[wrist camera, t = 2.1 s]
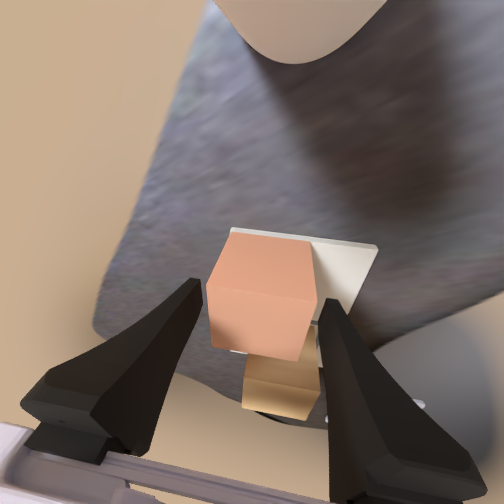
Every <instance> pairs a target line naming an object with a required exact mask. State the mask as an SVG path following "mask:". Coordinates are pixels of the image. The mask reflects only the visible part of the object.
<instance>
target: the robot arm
mask: <svg viewBox="0 0 504 504" xmlns="http://www.w3.org/2000/svg"><path fill="white" fill-rule="evenodd" d="M202 305H203V299H202V290H201V282H200V279H195V278H189V279H188V280H187V281H186V282H185V283H184V284H183V285H181V286H180V287H179V288H178V289H177V290H176V291H175V292H174V293H173V294H172V295H170V296H169V297H168V298H167V299H166V300H165V301H163V302H162V303H161V304H160V305H159V306H157V307H156V308H155V309H154V310H152V311H151V312H150V313H149V314H147V315H146V316H145V317H143V318H142V319H140V320H139V321H138V322H136V323H135V324H133V325H132V326H130V327H129V328H127V329H126V330H124V331H123V332H121V333H119V334H118V335H116V336H114V337H113V338H111V339H109V340H108V341H106V342H104V343H103V344H100V345H99V346H97V347H95V348H93V349H91V350H89V351H87V352H85V353H83V354H81V355H79V356H77V357H75V358H73V359H71V360H69V361H66V362H64V363H62V364H60V365H58V366H56V367H53V368H51V369H49V371H47V372H46V373H45V375H44V376H43V377H42V378H41V379H40V380H39V381H38V382H37V383H36V384H35V386H34V387H33V388H32V389H31V390H30V391H29V392H28V393H27V394H26V396H25V397H24V398H23V399H22V400H21V402H20V406H21V407H22V409H24V410H25V411H26V412H28V413H29V414H31V415H32V416H33V417H35V418H36V419H38V420H40V421H41V423H40V424H39V426H38V427H37V428H36V430H34V429H32V428H29V427H25V426H21V425H16V424H12V423H8V422H2V423H0V504H165V503H162V502H160V501H158V500H157V499H155V496H152V495H149V494H146V493H142V492H139V491H136V490H133V489H130V485H129V483H131V484H135V485H139V486H144V487H148V488H152V489H156V490H160V491H165V492H168V493H173V494H177V495H181V496H185V497H189V498H193V499H197V500H201V501H205V502H210V503H214V504H463V502H462V501H465V500H470V499H474V498H478V497H481V496H484V495H485V494H486V493H487V491H488V490H487V487H486V485H485V483H484V481H483V479H482V477H481V475H480V473H479V471H478V469H477V467H476V465H475V463H474V461H473V459H472V458H471V456H470V454H469V452H468V451H467V450H466V449H464V448H463V447H462V446H461V445H460V444H459V443H458V442H457V441H456V440H454V439H453V438H452V437H451V436H450V435H449V434H448V433H447V432H446V431H444V430H443V429H442V428H441V427H440V426H439V425H438V424H437V423H436V422H435V421H434V420H433V419H431V417H429V415H427V414H426V413H425V412H424V411H423V410H422V408H424V407H425V404H424V402H423V401H422V400H417V399H412V398H411V397H410V396H409V395H408V394H407V393H406V392H405V391H404V390H403V389H402V388H401V387H400V386H399V385H398V383H397V382H396V381H395V380H394V379H393V378H392V377H391V375H390V374H389V373H388V372H387V371H386V370H385V368H384V367H383V366H382V365H381V363H380V362H379V361H378V360H377V359H376V357H375V356H374V354H373V353H372V352H371V350H370V349H369V347H368V346H367V345H366V343H365V342H364V340H363V339H362V337H361V336H360V334H359V333H358V331H357V330H356V328H355V327H354V325H353V324H352V322H351V320H350V319H349V317H348V316H347V314H346V312H345V310H344V309H343V307H342V305H341V304H340V302H339V300H338V299H332V298H326V300H325V303H324V306H323V308H322V311H321V314H320V316H319V319H318V340H319V346H320V353H321V359H322V366H323V372H324V378H325V386H326V398H327V416H326V418H325V420H326V422H327V423H328V439H329V497H330V502H328V501H323V500H319V499H314V498H310V497H306V496H301V495H297V494H293V493H289V492H285V491H280V490H276V489H271V488H267V487H263V486H258V485H254V484H250V483H246V482H241V481H237V480H233V479H228V478H224V477H219V476H215V475H211V474H207V473H202V472H198V471H193V470H189V469H185V468H181V467H176V466H172V465H167V464H163V463H159V462H155V461H150V460H146V459H142V458H137V457H133V456H138V457H141V456H143V455H144V454H145V453H147V452H148V451H149V448H150V445H151V441H152V438H153V435H154V431H155V428H156V425H157V421H158V418H159V415H160V412H161V409H162V406H163V403H164V400H165V397H166V394H167V391H168V388H169V385H170V382H171V379H172V376H173V374H174V371H175V368H176V366H177V363H178V360H179V358H180V356H181V353H182V351H183V349H184V347H185V345H186V343H187V341H188V339H189V337H190V335H191V332H192V330H193V328H194V326H195V324H196V322H197V320H198V317H199V314H200V311H201V308H202ZM125 454H127V455H125ZM129 455H133V456H129Z"/></svg>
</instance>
